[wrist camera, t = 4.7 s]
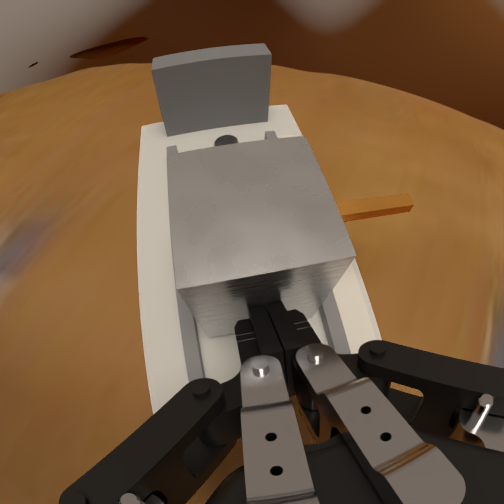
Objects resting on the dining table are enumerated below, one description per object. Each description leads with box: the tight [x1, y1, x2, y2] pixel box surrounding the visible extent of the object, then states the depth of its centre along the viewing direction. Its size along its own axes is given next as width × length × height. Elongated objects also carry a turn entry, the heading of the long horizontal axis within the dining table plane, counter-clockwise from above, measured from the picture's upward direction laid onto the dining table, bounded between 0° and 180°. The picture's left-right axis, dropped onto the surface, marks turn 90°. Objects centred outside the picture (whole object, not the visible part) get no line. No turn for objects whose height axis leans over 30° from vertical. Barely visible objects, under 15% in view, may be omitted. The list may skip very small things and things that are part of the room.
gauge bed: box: [137, 44, 382, 415], centre depth 18 cm, size 14×24×8 cm, turn 12°
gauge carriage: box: [167, 135, 414, 338], centre depth 16 cm, size 11×11×8 cm
